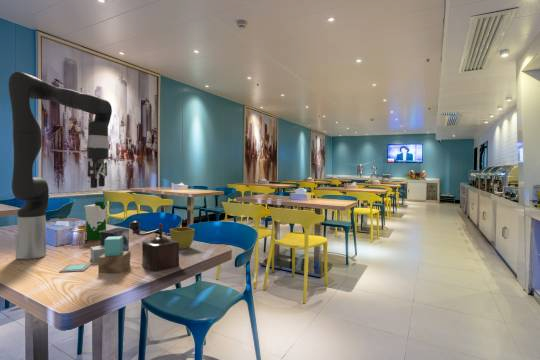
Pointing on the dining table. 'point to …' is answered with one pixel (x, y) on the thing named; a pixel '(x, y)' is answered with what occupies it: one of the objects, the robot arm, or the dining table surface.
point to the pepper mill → (157, 250)
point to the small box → (117, 232)
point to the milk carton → (95, 220)
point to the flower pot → (182, 236)
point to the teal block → (113, 246)
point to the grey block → (97, 252)
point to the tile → (75, 268)
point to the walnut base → (114, 263)
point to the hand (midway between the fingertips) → (97, 187)
